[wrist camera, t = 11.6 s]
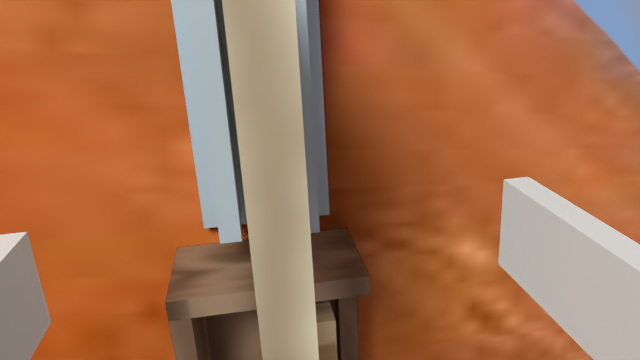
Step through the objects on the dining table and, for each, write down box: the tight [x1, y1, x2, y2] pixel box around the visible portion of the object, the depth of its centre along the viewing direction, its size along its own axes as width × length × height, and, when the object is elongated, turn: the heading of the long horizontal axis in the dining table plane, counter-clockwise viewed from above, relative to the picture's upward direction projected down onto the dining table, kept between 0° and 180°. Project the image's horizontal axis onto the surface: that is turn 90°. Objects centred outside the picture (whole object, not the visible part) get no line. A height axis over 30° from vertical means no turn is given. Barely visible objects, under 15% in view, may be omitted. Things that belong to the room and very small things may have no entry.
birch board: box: [222, 0, 319, 360], centre depth 27 cm, size 2×16×23 cm, turn 3°
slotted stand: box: [171, 0, 330, 244], centre depth 36 cm, size 10×22×6 cm, turn 3°
